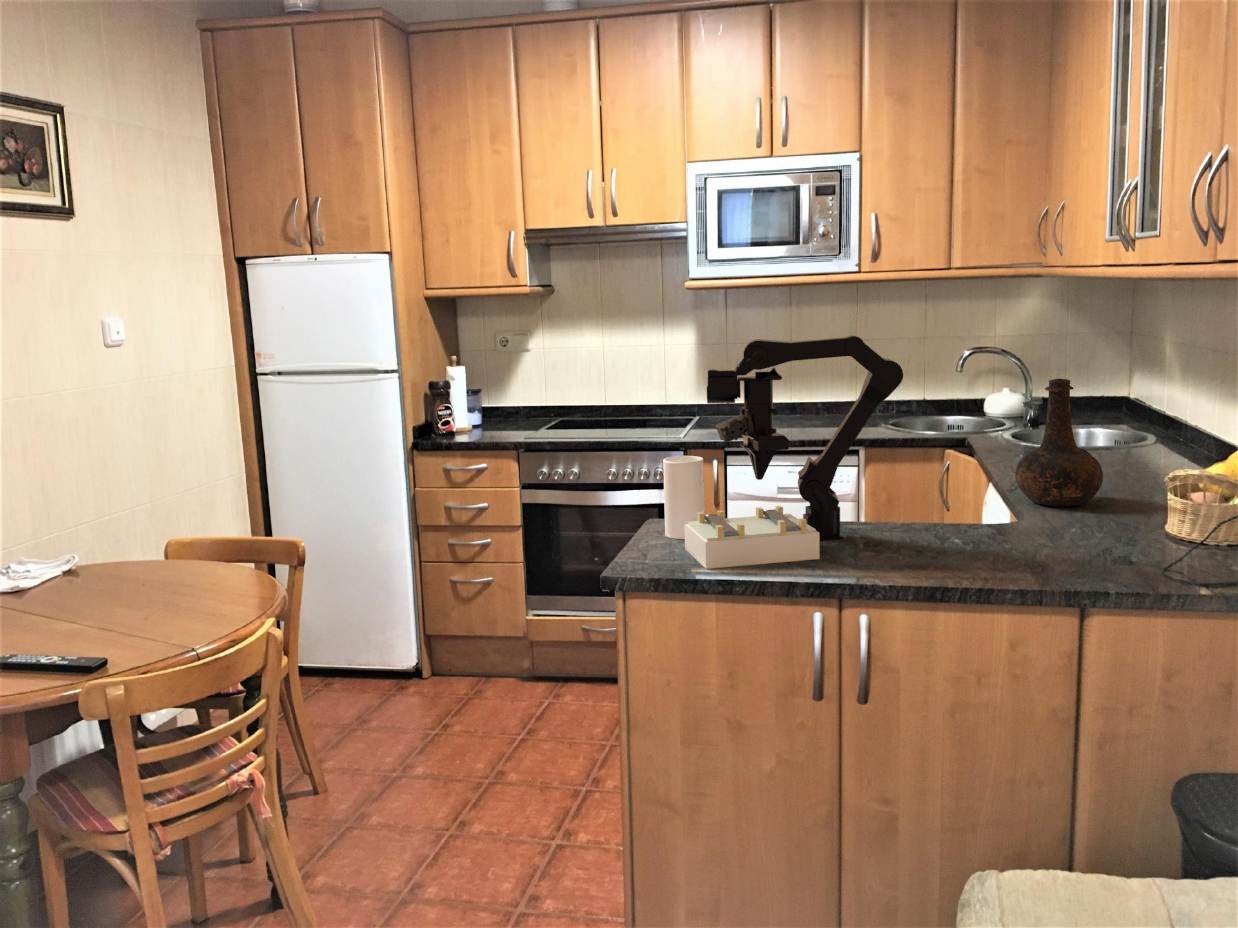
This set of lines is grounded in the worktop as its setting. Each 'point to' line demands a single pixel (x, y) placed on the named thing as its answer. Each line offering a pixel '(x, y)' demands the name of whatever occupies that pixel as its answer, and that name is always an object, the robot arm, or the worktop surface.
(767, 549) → the storage box
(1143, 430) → the worktop surface
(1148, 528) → the worktop surface
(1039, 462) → the glass bottle
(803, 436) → the worktop surface
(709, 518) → the strap
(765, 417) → the robot arm
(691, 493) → the cup
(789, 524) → the strap
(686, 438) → the worktop surface
